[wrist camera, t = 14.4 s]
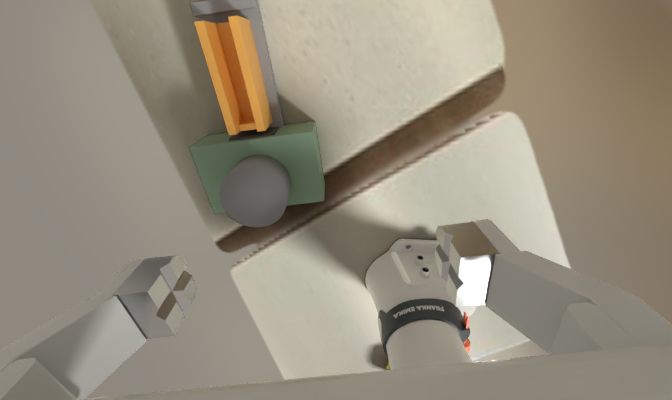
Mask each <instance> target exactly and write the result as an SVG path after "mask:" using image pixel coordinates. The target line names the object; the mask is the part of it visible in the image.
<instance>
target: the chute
mask: <svg viewBox="0 0 672 400" xmlns="http://www.w3.org/2000/svg"><path fill="white" fill-rule="evenodd" d="M228 19H229V22H224V23H218V24H217V23H212V22H208V21H197V22H194V24H195V27H196V30H197V33H198V37H199V40H200V43H201V46H202V50H203V53H204V56H205V59H206V63H207V66H208V69H209V72H210V76H211V79H212V82H213V85H214V89H215V92H216V95H217V98H218V102H219V105H220V108H221V111H222V115H223V118H224V121H225V124H226V128H227V131H228V134H229V135H236V134H238V133H239V132H240V131H246V130H254V129H257V132H259V131H266V129H267V128H268V127H269V126H270V124H271V123H272V122H273V121H272V116H271V112H270V108H269V103H268V99H267V94H266V90H265V86H264V81H263V77H262V72H261V68H260V64H259V59H258V55H257V50H256V46H255V42H254V37H253V33H252V29H251V24H250V20H248V19H246V18H243V17H240V16H230V17H228Z"/></svg>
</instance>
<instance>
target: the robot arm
mask: <svg viewBox="0 0 672 400" xmlns="http://www.w3.org/2000/svg"><path fill="white" fill-rule="evenodd" d="M436 238H437V240H420V239H398V240H397V241H395V242H394V244H393V245H392V246H391V248H390V249H389V250H388V251H387V252H386V253H385V254H383V255H382V256H380V257H379V258H377V259H376V260H375V261H374V262H373V263H372V264H371V266H370V267H369V269H368V271H367V273H366V277H365V283H366V287H367V289H368V291H369V293H370V295H371V296H372V298H373V301H374V303H375V306H376V309H377V312H378V324H379V331H380V336H381V341H382V343H383V348H384V351H385V353H386V355H387V356H388V359H389V365H390V370H383V371H372V372H362V373H351V374H341V375H330V376H320V377H309V378H298V379H288V380H277V381H267V382H257V383H247V384H235V385H226V386H214V387H204V388H193V389H183V390H171V391H161V392H151V393H139V394H129V395H118V396H108V397H97V398H86V397H87V396H88V395H89V394H90V393H91V392H92V391H93V390H94V389H95V388H97V387H98V386H99V385H100V384H101V383H102V382H103V381H104V380H105V379H106V378H107V377H108V376H109V375H111V374H112V373H113V372H114V371H115V370H116V369H117V368H118V367H119V366H120V365H121V364H122V363H123V362H124V361H125V360H126V359H128V358H129V357H130V356H131V355H132V354H133V353H134V352H135V351H136V350H137V349H138V348H139V347H141V346H142V345H143V344H144V343H145V342H146V341H147V340H146V339H152V338H160V337H168V336H174V335H175V334H176V332H177V330H178V328H179V326H180V324H181V323H182V321H183V319H184V317H185V316H184V313H183V311H184V310H185V309H187V308H188V307H189V306H190V305H191V304H192V302H193V300H194V298H195V294H196V284H195V280H194V278H193V276H192V275H191V274H189V273H188V272H186V271H185V270H186V267H187V264H186V262H185V260H184V258H183V257H181V256H178V255H177V256H166V257H155V258H145V259H136V260H132V261H129V262H128V263H127V264H126V265H125V266H124V267H123V268H122V269H121V270H120V271H119V272H118V273H117V274H116V275H115V276H114V277H113V278H112V279H111V280H110V282H108V283H107V284H106V285H105V287H104V288H103V289H102V290H101V291H100V292H99V293H98V294H97V295H96V296H95V297H94V298H91V299H87V300H85V301H84V302H82V303H80V304H78V305H77V306H75V307H73V308H71V309H70V310H68V311H66V312H65V313H63V314H61V315H59V316H58V317H56V318H54V319H52V320H51V321H49V322H47V323H45V324H44V325H42V326H40V327H38V328H37V329H35V330H33V331H32V332H30V333H28V334H26V335H25V336H23V337H21V338H20V339H18V340H16V341H14V342H12V343H11V344H9V345H7V346H6V347H4V348H2V349H0V400H672V324H671V323H669V322H668V321H667V320H666V319H664V318H663V317H662V316H660V315H659V314H658V313H657V312H656V311H654V310H653V309H652V308H650V307H649V306H648V305H647V304H646V303H644V302H643V301H642V300H641V299H639V298H638V297H637V296H635V295H633V294H630V293H628V292H625V291H623V290H621V289H618V288H616V287H613V286H611V285H608V284H606V283H603V282H601V281H599V280H596V279H593V278H591V277H589V276H586V275H584V274H581V273H579V272H577V271H574V270H572V269H569V268H567V267H564V266H562V265H559V264H557V263H554V262H552V261H550V260H547V259H545V258H542V257H540V256H537V255H535V254H532V253H530V252H528V251H522V252H521V251H520V250H519V249H518V248H517V247H516V246H515V245H514V244H513V243H512V242H511V241H510V240H509V239H508V238H507V237H506V236H505V235H504V233H503V232H502V231H501V230H500V229H499V228H498V227H497V226H496V225H495V224H494V223H493V222H492V221H491V220H488V219H485V220H478V221H471V222H467V223H459V224H451V225H443V226H438V227H437V230H436ZM407 245H409V246H408V247H406V246H407ZM477 305H486V307H488V308H489V309H490V310H492V311H493V312H494V313H496V314H497V315H498V316H500V317H501V318H502V319H504V320H505V321H506V322H508V323H509V324H510V325H512V326H513V327H514V328H516V329H517V330H518V331H520V332H521V333H522V334H524V335H525V336H526V337H528V338H529V339H530V340H532V341H533V342H534V343H536V344H537V345H538V346H540V347H541V348H542V349H544V350H545V351H546V352H548V353H549V355H542V356H531V357H521V358H510V359H500V360H489V361H478V362H472V361H471V359H470V357H469V355H468V353H469V350H470V341H469V339H468V337H469V335H470V329H469V327H468V326H469V318H468V317H469V316H470V315H471V314H472V313H473V312H474V311H475V309H476V307H477ZM85 398H86V399H85Z"/></svg>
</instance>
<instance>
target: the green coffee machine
mask: <svg viewBox="0 0 672 400" xmlns="http://www.w3.org/2000/svg"><path fill="white" fill-rule="evenodd" d="M190 7H191V10H192V13H193V16H196V17H199V20H200V21H208V22H212V23H217V24H218V23H224V22H229V19H228V17H230V16H240V17H243V18H246V19H248V20H250V24H251V29H252V33H253V37H254V42H255V46H256V50H257V55H258V59H259V64H260V68H261V72H262V77H263V81H264V86H265V90H266V94H267V99H268V103H269V108H270V112H271V116H272V121H273V122H272V123H271V124H270V126H269V127H268V128H267V129H266V131H259V132H257V129H254V130H246V131H240V132H239V133H238V134H236V135H229V134H228V133H220V134H212V135H207V136H205V137H204V138H202V139H201V140H199V141H198V142H197V143H195V144H194V145H192V146H191V147H189V149H190V152H191V155H192V157H193V160H194V162H195V165H196V168H197V170H198V173H199V175H200V178H201V181H202V183H203V186H204V188H205V191H206V194H207V196H208V199H209V201H210V204H211V207H212V209H213V212H214V214H222V213H227V214H228V215H229V216H230V217H231V218H232V219H233V220H235V221H236V222H238V223H240V224H242V225H245V226H248V227H266V226H269V225H271V224H273V223H275V222H276V221H278V220H279V219H280V218H281V216H282V215H283V213H284V211H285V208H286V206H288V205H296V204H305V203H313V202H321V201H324V191H325V182H324V175H323V169H322V163H321V156H320V150H319V144H318V138H317V131H316V125H315V121H311V122H303V123H296V124H288V125H284V122H283V117H282V113H281V108H280V103H279V98H278V94H277V89H276V84H275V79H274V75H273V70H272V65H271V61H270V56H269V51H268V46H267V42H266V37H265V32H264V27H263V23H262V18H261V13H260V9H259V4H258V0H206V1H200V2H193V3H190Z"/></svg>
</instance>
